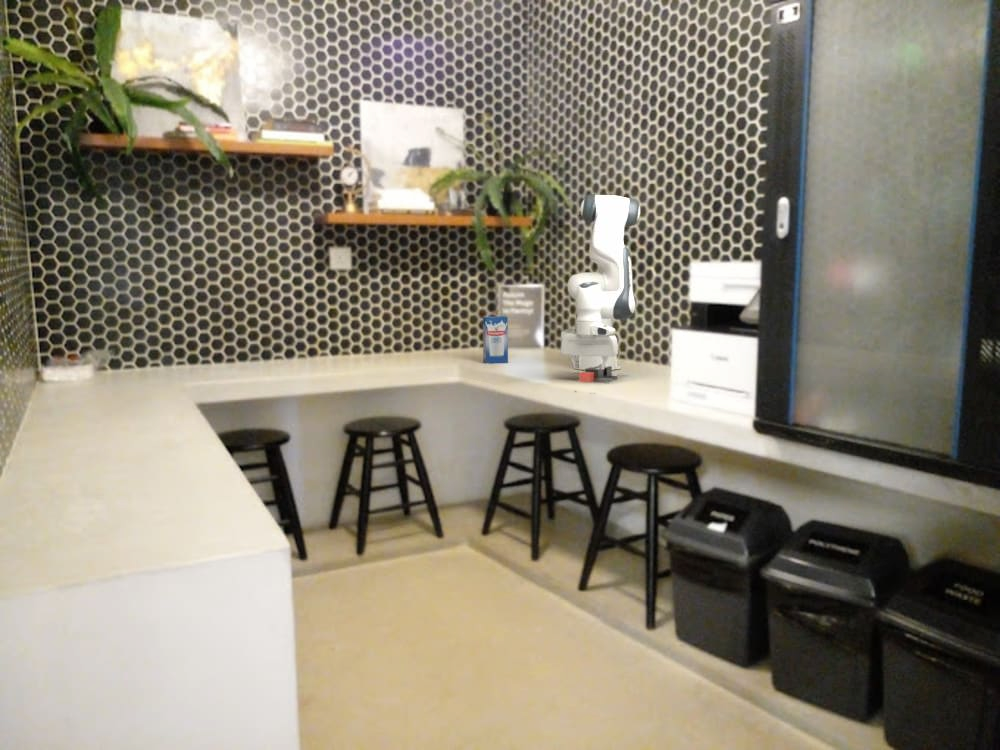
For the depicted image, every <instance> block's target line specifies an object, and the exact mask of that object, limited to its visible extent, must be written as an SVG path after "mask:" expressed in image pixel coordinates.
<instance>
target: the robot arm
mask: <svg viewBox="0 0 1000 750" xmlns="http://www.w3.org/2000/svg"><path fill="white" fill-rule="evenodd" d="M580 216H581V218H582V220H583V221H584V222H586V223H589V224H593V226H592V231H591V236H590V244H589V250H588V256H589V258H590V260H591V261H592V262H593V263H595V264H596V265H598V271H597V272H594V271H592V272H590V271H589V272H586V271H584V272H580V273H576V274H572V275H571V276H570V278H569V279H568V282H567V292H568V294H569V296H570V297H571V298H572V299H573V300H574V301H576V303H575V305H576V308H575V310H576V319H575V320H576V321H575V323H576V328H573V329H571V328H566V329H564V330H562V332H561V334H560V335H561V336H560V337H561V345H560V353H561V354H562V356H570V360H571V363H572V364H573V369H574V370H582V371H585V369H587V368H590V367H593V368H594V367H596V366H599V369H600V370H604V369H605V366H612V371H614V370H620V369H622V367H621V365H618V364H617V362H618V361H617V355H618V354H619V344H618V338H617V336H616V335H615V334H616V328H614V327H613V326H612V325H613V324H612V323H613V320H618V321H619V320H620V321H628V319H630V318H631V317H632V316H633V315H634V313H635V312H636V301H635V300H636V298H635V292H634V274H633V264H632V263H633V262H632V255H631V251H630V250H629V249H628V248H627V247H626V246H625V243H624V235H625V228H627V227H632V226H635V225H636V224H637V222H638V221H639V219H640V216H641V206H640V203H639V201H638V200H637V199H636V198H632V197H629V198H628V197H624V196H622V195H621V196H620V195H611V194H610V195H609V194H608V195H607V194H606V195H605V194H595V193H593V194H587V195H586V196H585V197H584V199H583V200H582V202H581V204H580ZM576 359H577V360H576Z"/></svg>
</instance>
